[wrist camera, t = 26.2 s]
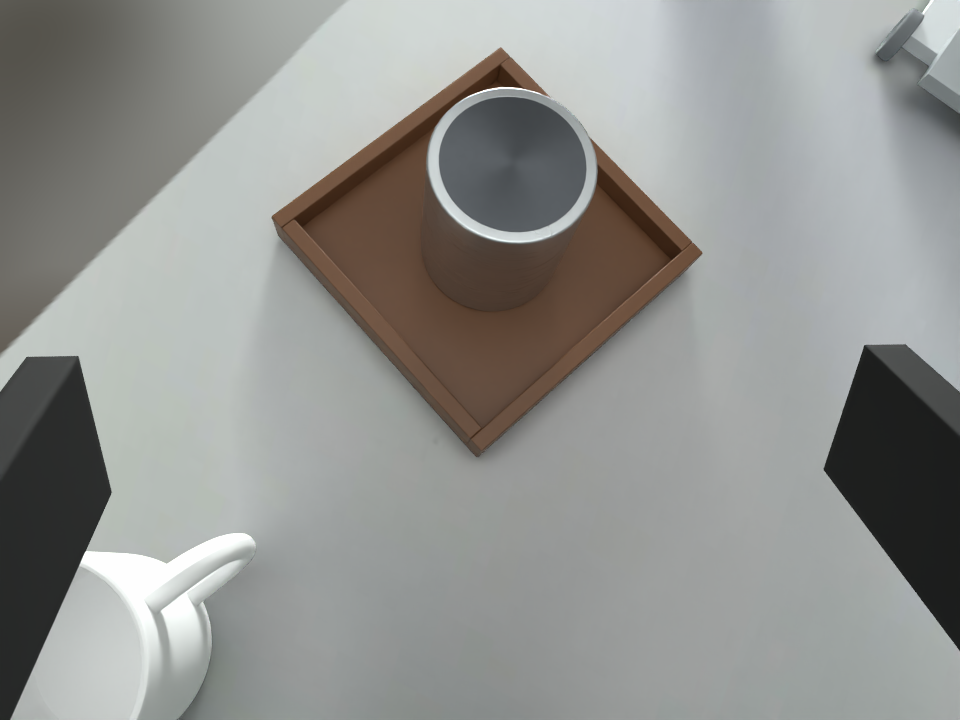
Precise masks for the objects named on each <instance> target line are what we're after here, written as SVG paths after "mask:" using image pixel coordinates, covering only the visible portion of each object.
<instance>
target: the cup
mask: <svg viewBox="0 0 960 720" xmlns="http://www.w3.org/2000/svg"><path fill="white" fill-rule="evenodd" d="M255 551H256V544H255V542H254V540H253V539H252V538H251V537H250V536H249V535H246V534H244V533H235V534H228V535H224V536H220V537H217V538H214V539H212V540H209V541H207V542H205V543H203V544H201V545H199V546H197V547H195V548H193V549H191V550H189V551H187V552H186V553H184V554H182V555H181V556H179V557H177V558H176V559H174V560H172V561H171V562H169V563H168V564H165V563H163V562H161V561H158V560H156V559H153V558H150V557H146V556H141V555H135V554H125V553H106V552H86V551H85V554H84V556H83V558H82V560H81V563H80V565H79V567H78V569H77V572H76V574H75V576H74V578H73V581H72V583H71V585H70V587H69V590H68V592H67V594H66V596H65V598H64V601H63V603H62V605H61V607H60V610H59V612H58V614H57V616H56V619H55V621H54V623H53V625H52V628H51V630H50V632H49V634H48V637H47V639H46V641H45V643H44V646H43V648H42V650H41V652H40V654H39V657H38V659H37V661H36V663H35V666H34V668H33V670H32V672H31V675H30V677H29V679H28V681H27V684H26V686H25V688H24V690H23V693H22V695H21V697H20V699H19V702H18V704H17V706H16V708H15V710H14V713H13V715H12V717H11V719H10V720H177V719H178V718H179V717H180V716H181V715H182V714H183V713H184V712H185V711H186V709H187V708H188V707H189V705H190V704H191V703H192V701H193V700H194V698H195V696H196V695H197V693H198V691H199V689H200V687H201V685H202V683H203V681H204V678H205V675H206V673H207V670H208V666H209V662H210V656H211V648H212V633H211V625H210V620H209V616H208V613H207V610H206V607H205V605H204V603H203V601H204V600H206V599H207V598H208V597H210V596H211V595H212V594H213V593H215V592H216V591H217V590H218V589H220V588H221V587H222V586H223V585H225V584H226V583H227V582H228V581H230V580H231V579H232V578H233V577H234V576H235V575H237V574H238V573H239V572H240V571H241V570H242V569H243V568H244V567H245V566H246V565H247V564H248V563H249V562H250V561H251V560H252V558H253V556H254V554H255Z"/></svg>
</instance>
